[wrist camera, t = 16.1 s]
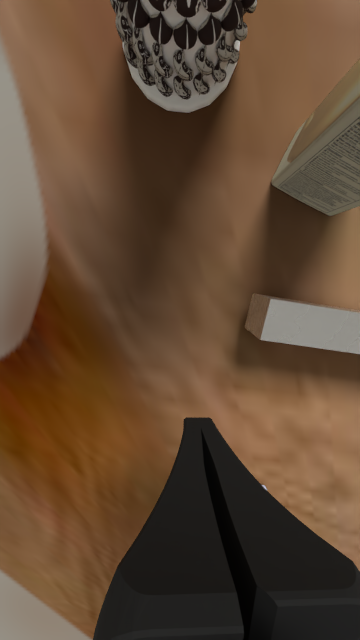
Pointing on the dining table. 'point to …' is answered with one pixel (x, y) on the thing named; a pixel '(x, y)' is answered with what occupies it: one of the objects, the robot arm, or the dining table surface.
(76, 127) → the dining table surface
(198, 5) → the decorative candle
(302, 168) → the skincare box
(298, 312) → the swing arm
